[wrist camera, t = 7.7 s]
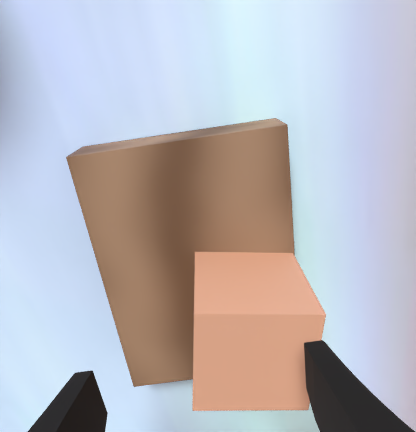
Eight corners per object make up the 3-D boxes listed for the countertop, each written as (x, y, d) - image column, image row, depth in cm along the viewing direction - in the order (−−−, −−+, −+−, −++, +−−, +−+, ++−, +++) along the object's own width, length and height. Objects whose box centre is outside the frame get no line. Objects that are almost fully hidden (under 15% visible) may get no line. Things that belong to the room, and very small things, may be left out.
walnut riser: (275, 118, 18) (287, 124, 16) (290, 335, 23) (300, 365, 21) (82, 146, 18) (66, 157, 16) (139, 355, 23) (133, 386, 21)
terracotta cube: (292, 252, 18) (325, 314, 13) (282, 331, 20) (308, 410, 15) (194, 251, 18) (194, 314, 13) (193, 331, 20) (192, 410, 15)
